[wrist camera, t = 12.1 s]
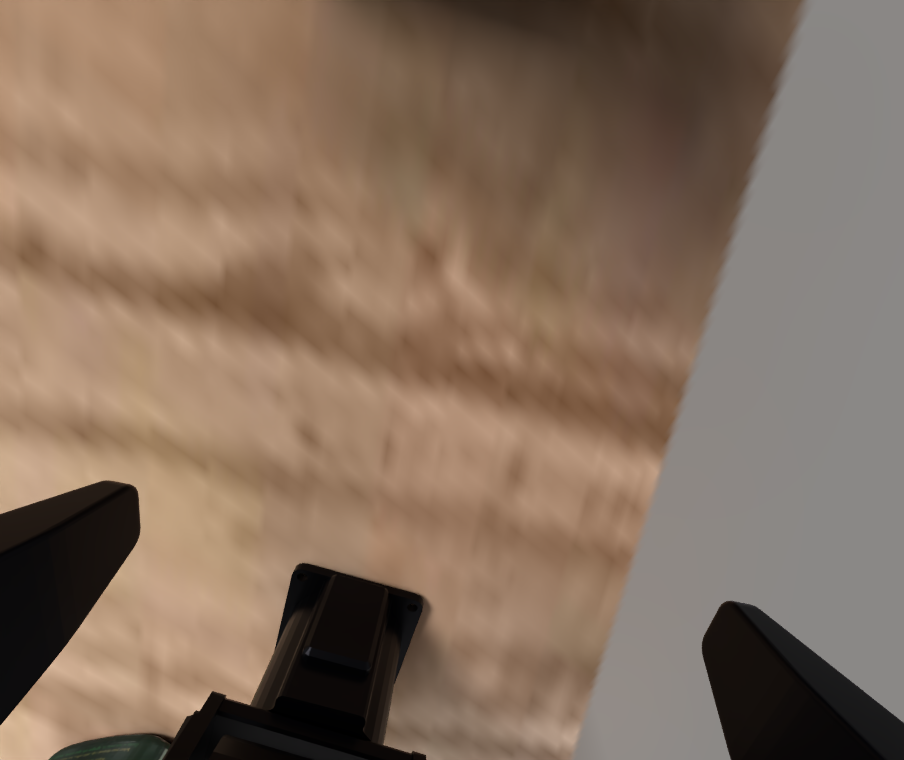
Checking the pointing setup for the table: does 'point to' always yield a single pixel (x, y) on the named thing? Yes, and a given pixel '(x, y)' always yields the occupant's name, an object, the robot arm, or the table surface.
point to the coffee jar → (116, 749)
